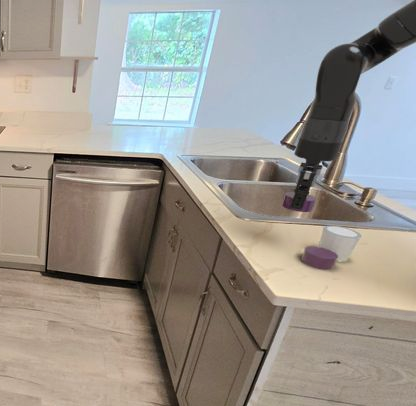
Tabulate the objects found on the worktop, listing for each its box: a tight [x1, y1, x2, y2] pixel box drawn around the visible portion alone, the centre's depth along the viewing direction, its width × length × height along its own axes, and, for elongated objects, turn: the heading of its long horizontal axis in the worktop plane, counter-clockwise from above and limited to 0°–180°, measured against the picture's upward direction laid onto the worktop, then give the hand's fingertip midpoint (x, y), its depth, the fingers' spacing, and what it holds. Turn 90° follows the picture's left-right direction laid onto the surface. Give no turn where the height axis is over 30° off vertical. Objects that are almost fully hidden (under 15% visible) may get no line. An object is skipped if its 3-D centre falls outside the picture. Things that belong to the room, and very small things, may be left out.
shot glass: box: [318, 225, 362, 263], centre depth 90 cm, size 7×7×7 cm
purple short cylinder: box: [300, 245, 338, 271], centre depth 89 cm, size 6×6×3 cm
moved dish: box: [281, 191, 318, 213], centre depth 90 cm, size 6×6×3 cm
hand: (297, 204), depth 90 cm, fingers closed on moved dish, 6 cm apart
